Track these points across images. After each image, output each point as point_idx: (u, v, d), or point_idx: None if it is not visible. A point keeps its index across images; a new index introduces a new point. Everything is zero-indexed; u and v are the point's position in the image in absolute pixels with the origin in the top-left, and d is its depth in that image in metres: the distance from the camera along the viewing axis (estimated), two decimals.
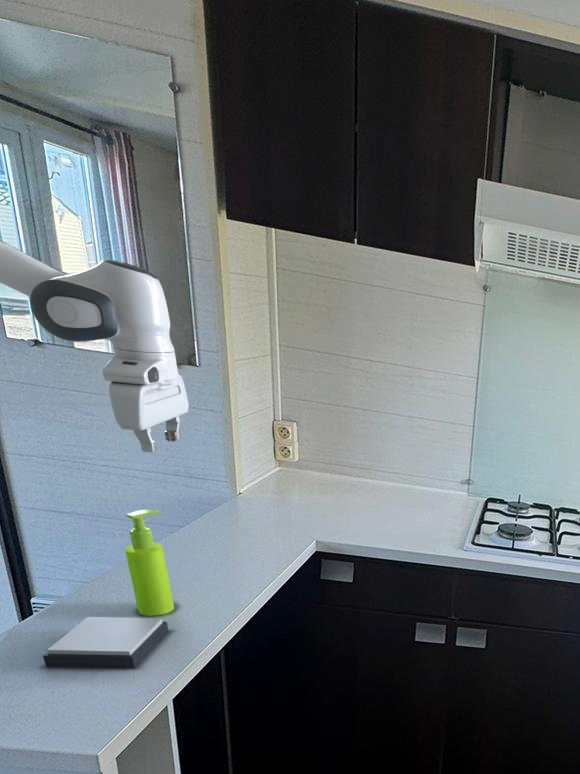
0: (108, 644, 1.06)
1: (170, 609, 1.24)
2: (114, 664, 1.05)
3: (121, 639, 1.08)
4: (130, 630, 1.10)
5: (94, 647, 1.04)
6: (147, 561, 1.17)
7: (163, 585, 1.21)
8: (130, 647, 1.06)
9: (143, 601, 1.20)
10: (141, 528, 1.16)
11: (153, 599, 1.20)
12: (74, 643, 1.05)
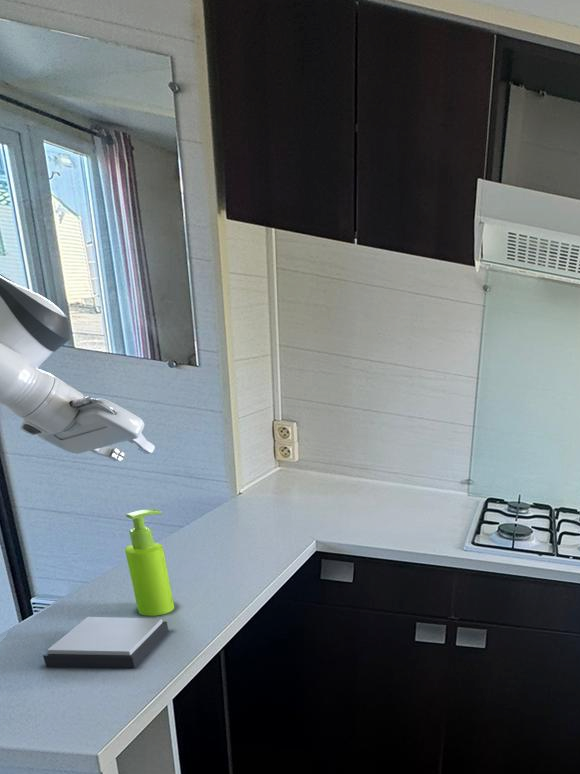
0: (108, 644, 1.06)
1: (170, 609, 1.24)
2: (114, 664, 1.05)
3: (121, 639, 1.08)
4: (130, 630, 1.10)
5: (94, 647, 1.04)
6: (147, 561, 1.17)
7: (163, 585, 1.21)
8: (130, 647, 1.06)
9: (143, 601, 1.20)
10: (141, 528, 1.16)
11: (153, 599, 1.20)
12: (74, 643, 1.05)
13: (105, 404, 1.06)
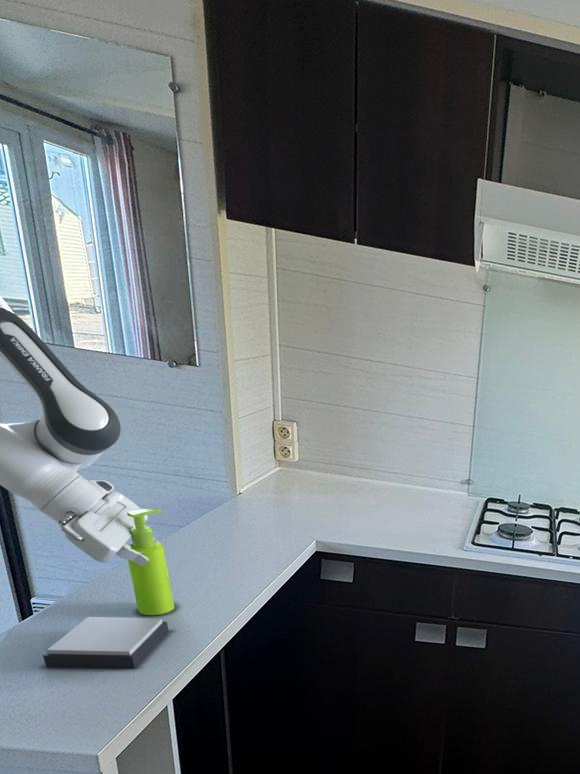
0: (108, 644, 1.06)
1: (170, 609, 1.23)
2: (114, 664, 1.05)
3: (121, 639, 1.08)
4: (130, 630, 1.10)
5: (94, 647, 1.04)
6: None
7: (163, 585, 1.21)
8: (130, 647, 1.06)
9: (143, 600, 1.20)
10: (142, 527, 1.16)
11: (153, 598, 1.20)
12: (74, 643, 1.05)
13: (68, 532, 1.05)
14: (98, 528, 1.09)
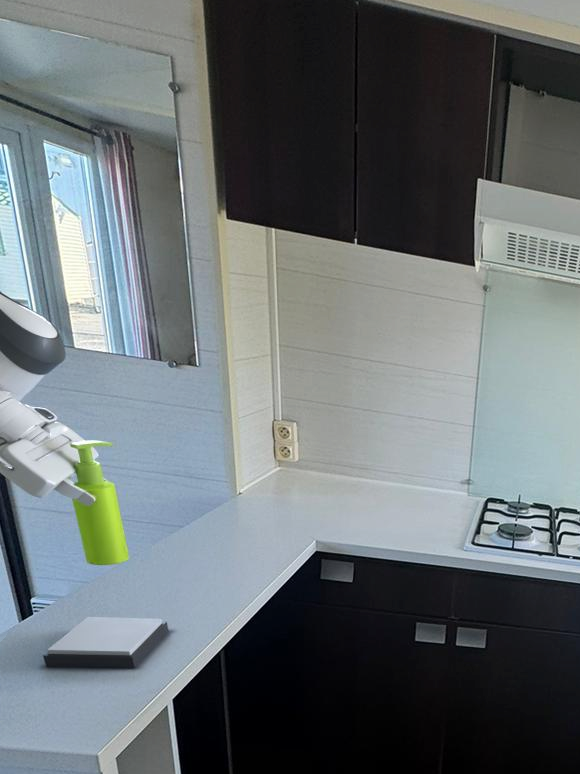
0: (108, 644, 1.06)
1: (124, 559, 1.08)
2: (114, 664, 1.05)
3: (121, 639, 1.08)
4: (130, 630, 1.10)
5: (94, 647, 1.04)
6: None
7: (114, 530, 1.05)
8: (130, 647, 1.06)
9: (91, 547, 1.04)
10: (88, 461, 1.01)
11: (102, 545, 1.04)
12: (74, 643, 1.05)
13: None
14: (33, 458, 0.94)
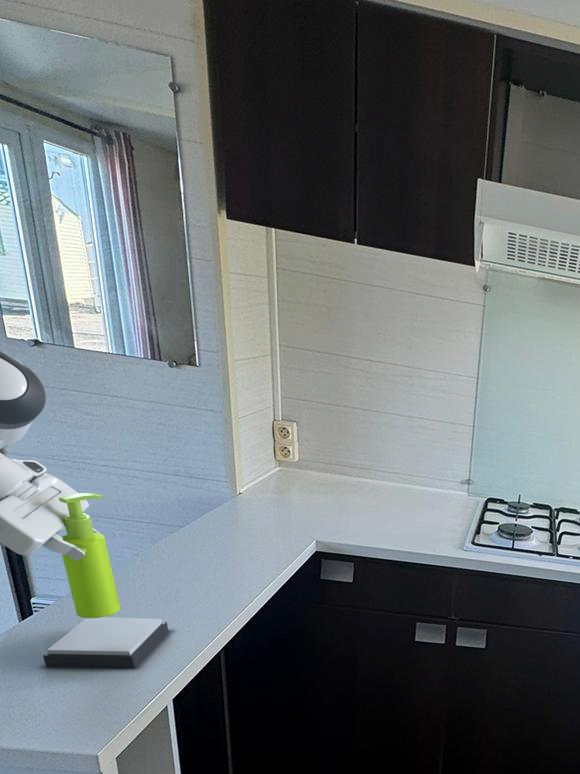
0: (108, 644, 1.06)
1: (114, 611, 1.06)
2: (114, 664, 1.05)
3: (121, 639, 1.08)
4: (130, 630, 1.10)
5: (94, 647, 1.04)
6: None
7: (105, 583, 1.03)
8: (130, 647, 1.06)
9: (81, 601, 1.02)
10: (77, 514, 0.99)
11: (92, 598, 1.03)
12: (74, 643, 1.05)
13: None
14: (20, 515, 0.92)
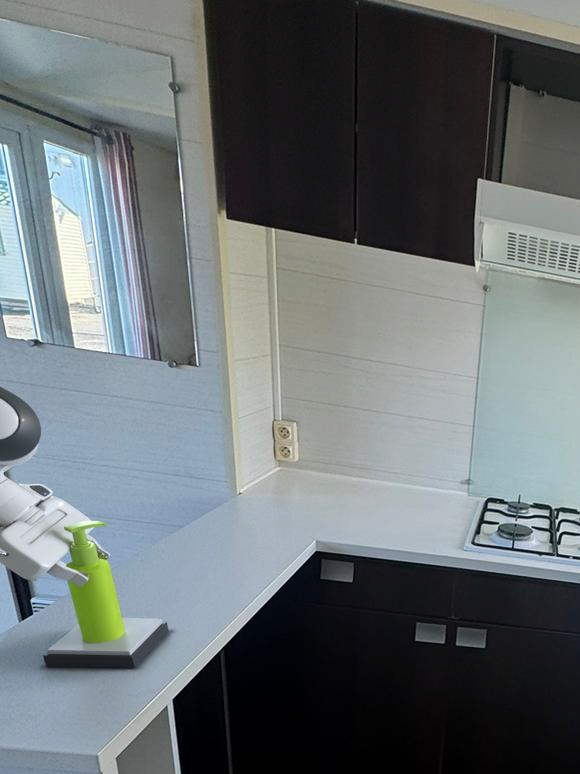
0: (108, 644, 1.06)
1: (120, 634, 1.08)
2: (114, 664, 1.05)
3: (121, 639, 1.08)
4: (130, 630, 1.10)
5: (94, 647, 1.04)
6: (89, 580, 1.01)
7: (110, 608, 1.05)
8: (130, 647, 1.06)
9: (87, 626, 1.04)
10: (82, 543, 1.00)
11: (98, 623, 1.04)
12: (74, 643, 1.05)
13: None
14: (27, 541, 0.94)
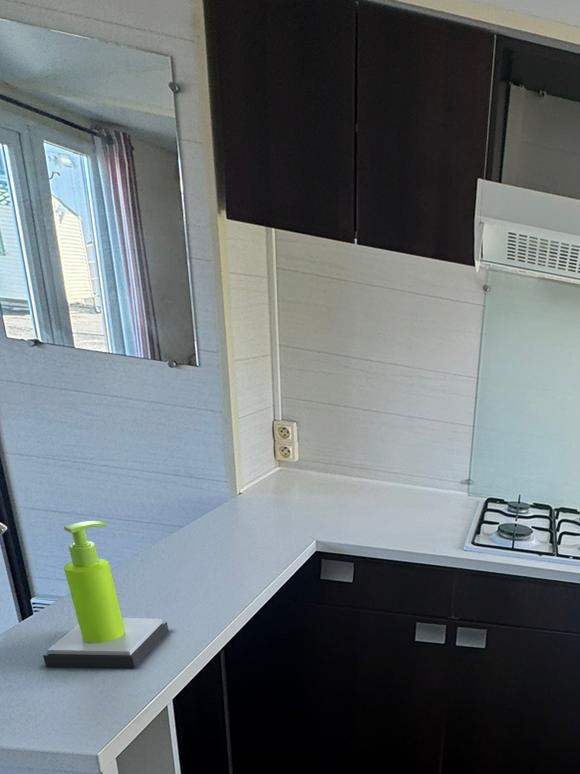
0: (108, 644, 1.06)
1: (120, 634, 1.08)
2: (114, 664, 1.05)
3: (121, 639, 1.08)
4: (130, 630, 1.10)
5: (94, 647, 1.04)
6: (89, 580, 1.01)
7: (110, 608, 1.05)
8: (130, 647, 1.06)
9: (87, 626, 1.04)
10: (82, 543, 1.00)
11: (98, 623, 1.04)
12: (74, 643, 1.05)
13: None
14: None
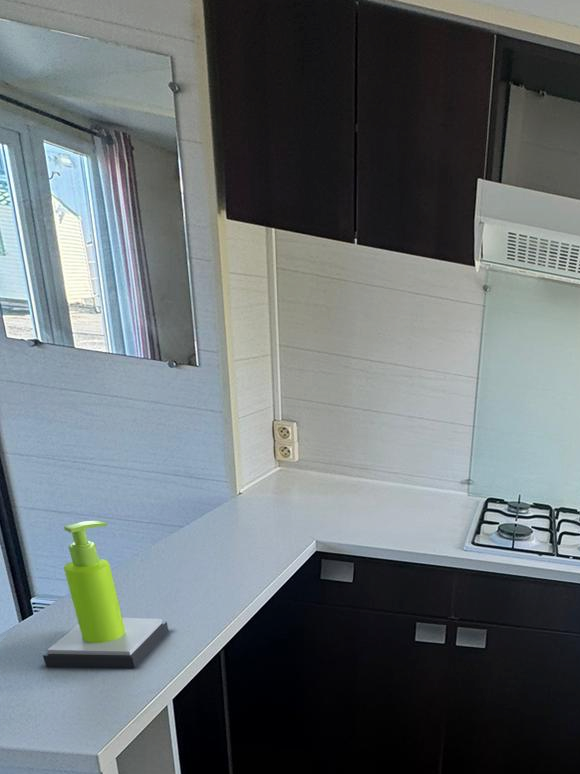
0: (108, 644, 1.06)
1: (120, 634, 1.08)
2: (114, 664, 1.05)
3: (121, 639, 1.08)
4: (130, 630, 1.10)
5: (94, 647, 1.04)
6: (89, 580, 1.01)
7: (110, 608, 1.05)
8: (130, 647, 1.06)
9: (87, 626, 1.04)
10: (82, 543, 1.00)
11: (98, 623, 1.04)
12: (74, 643, 1.05)
13: None
14: None
